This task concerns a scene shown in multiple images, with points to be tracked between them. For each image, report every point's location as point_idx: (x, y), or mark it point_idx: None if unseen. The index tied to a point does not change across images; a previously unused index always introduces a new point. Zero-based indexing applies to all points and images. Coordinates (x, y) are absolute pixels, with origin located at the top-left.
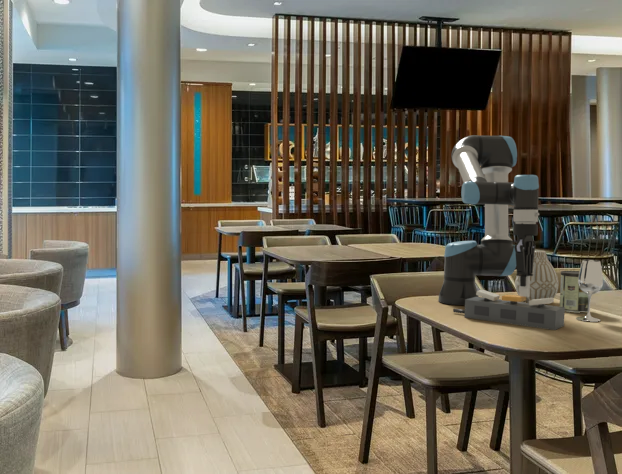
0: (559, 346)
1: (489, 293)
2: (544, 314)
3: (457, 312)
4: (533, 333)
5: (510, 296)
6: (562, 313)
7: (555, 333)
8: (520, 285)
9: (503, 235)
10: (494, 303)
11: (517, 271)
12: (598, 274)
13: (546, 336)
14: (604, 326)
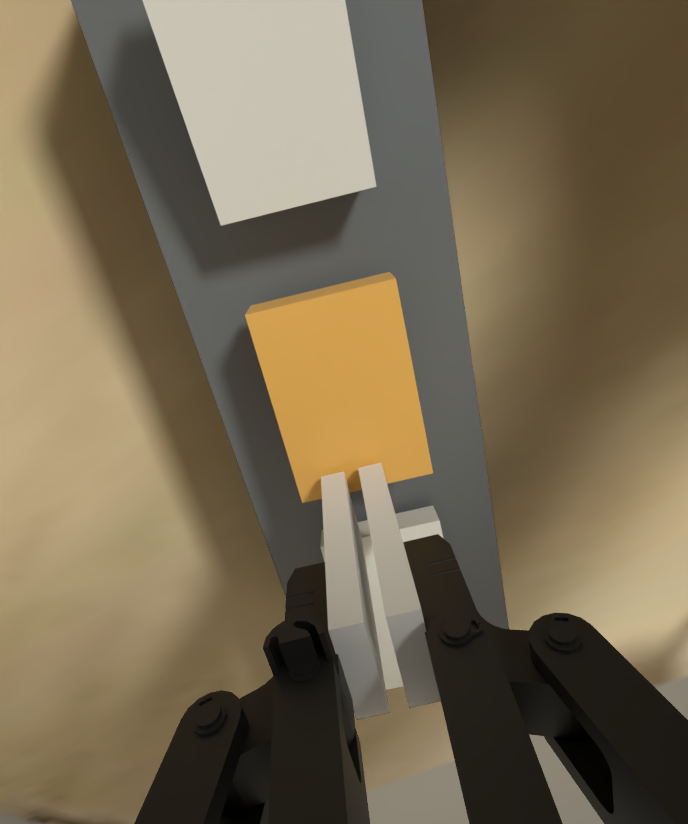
0: (20, 764)
1: (270, 88)
2: None
3: None
4: (134, 589)
5: (286, 397)
6: None
7: (245, 637)
8: (291, 577)
9: None
10: (168, 268)
11: (171, 757)
12: None
13: (137, 652)
14: (628, 658)
